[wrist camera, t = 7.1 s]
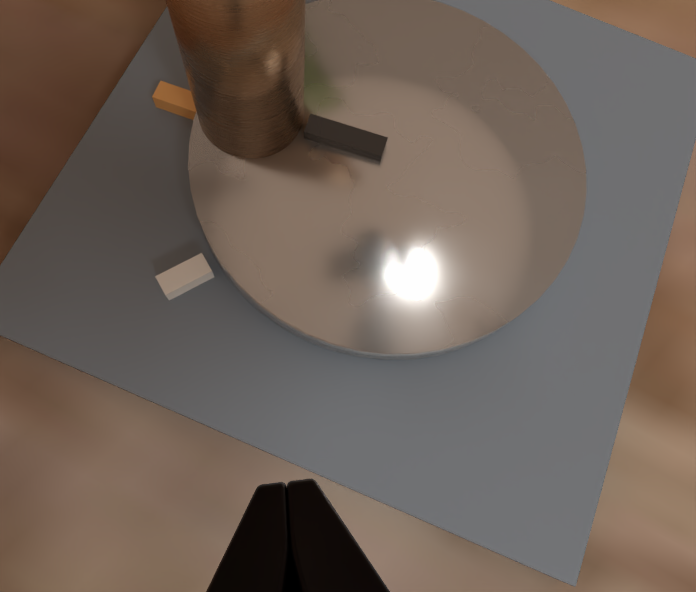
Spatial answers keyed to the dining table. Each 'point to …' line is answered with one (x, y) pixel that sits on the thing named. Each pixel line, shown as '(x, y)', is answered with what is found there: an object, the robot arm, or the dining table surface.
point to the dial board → (363, 373)
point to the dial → (377, 169)
